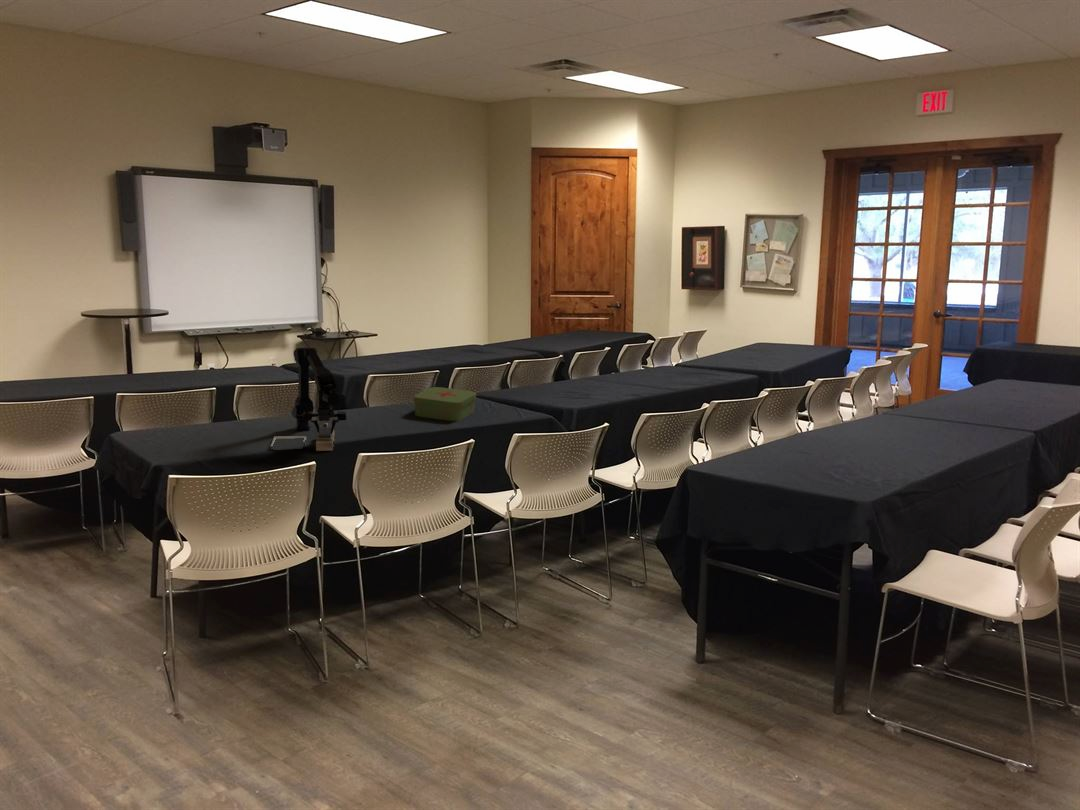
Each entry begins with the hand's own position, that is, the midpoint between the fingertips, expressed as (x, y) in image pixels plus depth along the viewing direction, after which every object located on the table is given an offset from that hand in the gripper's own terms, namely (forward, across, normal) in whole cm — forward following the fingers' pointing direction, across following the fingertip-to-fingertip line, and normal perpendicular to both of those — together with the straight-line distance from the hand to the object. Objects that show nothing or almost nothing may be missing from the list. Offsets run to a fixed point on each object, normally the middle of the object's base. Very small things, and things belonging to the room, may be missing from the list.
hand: (325, 434), depth 393 cm
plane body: (+5, 0, 0) cm, 5 cm away
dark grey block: (+1, 0, 0) cm, 1 cm away
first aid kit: (+5, +57, +53) cm, 78 cm away
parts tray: (+5, -16, 0) cm, 17 cm away
